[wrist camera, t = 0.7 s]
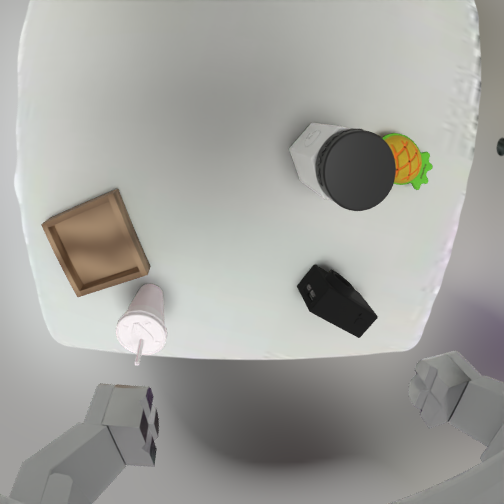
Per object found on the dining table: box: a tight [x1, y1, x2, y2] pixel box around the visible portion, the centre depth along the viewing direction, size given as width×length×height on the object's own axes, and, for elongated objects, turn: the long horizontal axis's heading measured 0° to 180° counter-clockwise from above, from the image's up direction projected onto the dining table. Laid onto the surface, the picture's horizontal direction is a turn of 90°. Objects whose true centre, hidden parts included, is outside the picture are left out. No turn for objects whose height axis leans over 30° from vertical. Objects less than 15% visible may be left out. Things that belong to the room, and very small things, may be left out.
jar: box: [289, 123, 396, 211], centre depth 35 cm, size 9×8×12 cm
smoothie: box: [116, 284, 167, 366], centre depth 39 cm, size 6×6×14 cm
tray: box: [41, 189, 150, 297], centre depth 40 cm, size 12×12×2 cm
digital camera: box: [297, 265, 377, 338], centre depth 46 cm, size 10×5×7 cm, turn 55°
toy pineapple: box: [382, 133, 432, 190], centre depth 39 cm, size 7×10×5 cm
